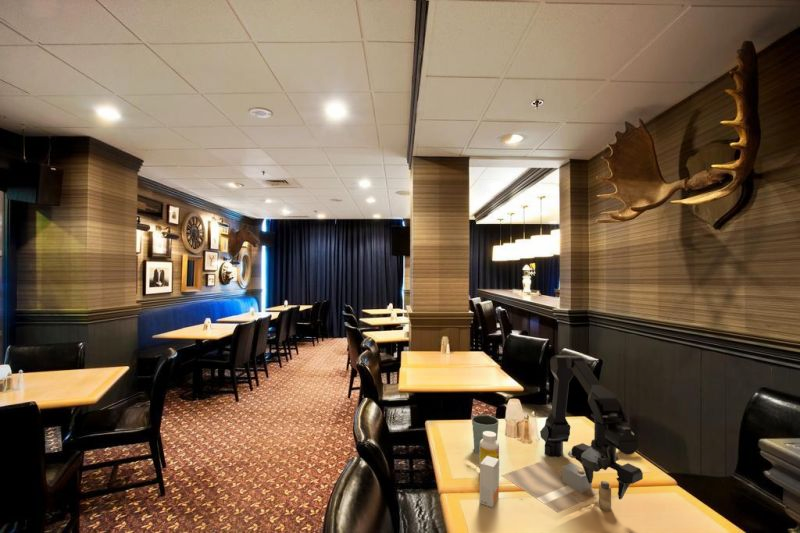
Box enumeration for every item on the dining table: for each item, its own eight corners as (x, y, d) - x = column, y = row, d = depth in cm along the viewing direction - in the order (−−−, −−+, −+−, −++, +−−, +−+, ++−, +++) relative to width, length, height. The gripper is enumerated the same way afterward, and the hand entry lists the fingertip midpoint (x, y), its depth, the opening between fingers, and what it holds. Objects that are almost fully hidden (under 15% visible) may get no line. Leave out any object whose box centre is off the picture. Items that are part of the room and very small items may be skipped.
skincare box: (492, 508, 110) (493, 467, 111) (479, 503, 113) (479, 463, 113) (499, 497, 116) (499, 458, 116) (485, 493, 118) (486, 455, 118)
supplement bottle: (499, 476, 127) (499, 438, 128) (479, 474, 129) (479, 436, 129) (498, 466, 134) (498, 430, 134) (479, 464, 135) (479, 428, 136)
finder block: (571, 478, 125) (571, 461, 125) (591, 488, 119) (591, 471, 119) (562, 482, 123) (562, 465, 123) (581, 493, 116) (581, 475, 117)
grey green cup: (501, 448, 148) (502, 418, 148) (493, 459, 139) (493, 426, 139) (477, 442, 153) (477, 412, 153) (467, 452, 145) (467, 420, 145)
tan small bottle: (603, 503, 114) (603, 479, 114) (613, 508, 111) (613, 484, 111) (596, 506, 112) (596, 481, 112) (606, 512, 109) (607, 487, 109)
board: (542, 464, 136) (542, 461, 136) (600, 496, 117) (600, 492, 117) (501, 478, 126) (501, 475, 126) (557, 516, 107) (557, 512, 107)
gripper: (560, 431, 116) (559, 482, 116) (620, 458, 100) (620, 517, 100) (582, 424, 121) (582, 473, 121) (644, 448, 105) (643, 504, 105)
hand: (604, 490), depth 112 cm, fingers open, 9 cm apart
